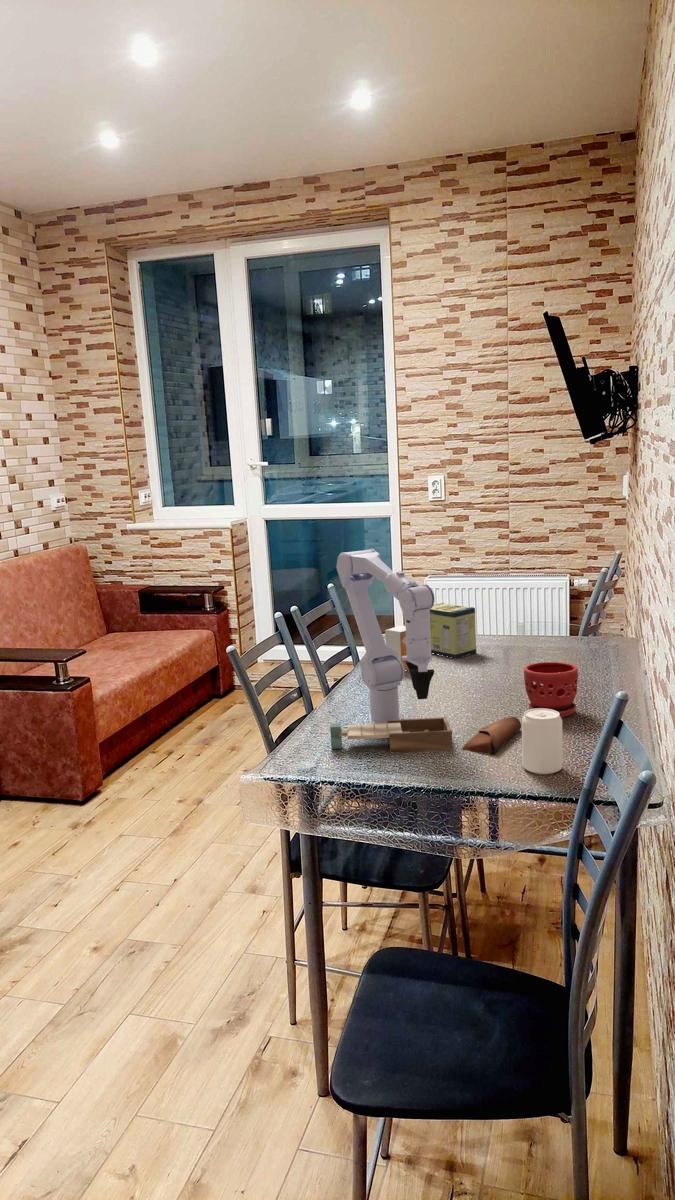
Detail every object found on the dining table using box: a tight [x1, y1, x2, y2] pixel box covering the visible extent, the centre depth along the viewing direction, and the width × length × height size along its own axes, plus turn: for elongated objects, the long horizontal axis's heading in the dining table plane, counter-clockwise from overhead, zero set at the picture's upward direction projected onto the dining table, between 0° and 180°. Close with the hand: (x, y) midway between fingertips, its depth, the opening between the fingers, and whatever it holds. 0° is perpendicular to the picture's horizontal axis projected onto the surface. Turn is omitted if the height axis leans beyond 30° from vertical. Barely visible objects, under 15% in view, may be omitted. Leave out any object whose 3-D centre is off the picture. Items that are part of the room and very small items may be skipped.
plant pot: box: [523, 661, 579, 718], centre depth 202 cm, size 13×13×12 cm
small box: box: [384, 624, 409, 671], centre depth 250 cm, size 8×6×13 cm
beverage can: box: [521, 708, 563, 775], centre depth 166 cm, size 8×8×12 cm
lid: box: [329, 722, 402, 750], centre depth 185 cm, size 8×16×5 cm, turn 90°
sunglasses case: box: [461, 716, 522, 756], centre depth 185 cm, size 18×7×7 cm, turn 150°
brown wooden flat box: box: [387, 716, 453, 754], centre depth 185 cm, size 10×14×4 cm
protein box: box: [430, 602, 477, 659], centre depth 268 cm, size 10×16×16 cm
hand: (420, 694), depth 188 cm, fingers open, 7 cm apart
